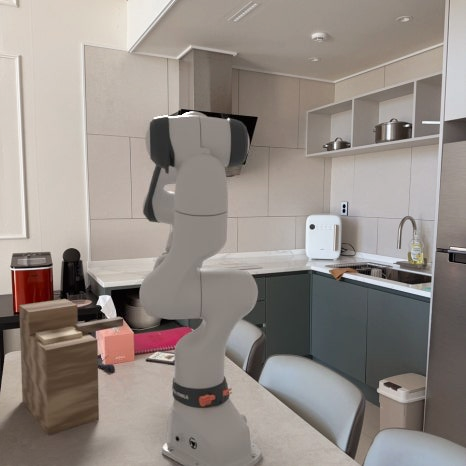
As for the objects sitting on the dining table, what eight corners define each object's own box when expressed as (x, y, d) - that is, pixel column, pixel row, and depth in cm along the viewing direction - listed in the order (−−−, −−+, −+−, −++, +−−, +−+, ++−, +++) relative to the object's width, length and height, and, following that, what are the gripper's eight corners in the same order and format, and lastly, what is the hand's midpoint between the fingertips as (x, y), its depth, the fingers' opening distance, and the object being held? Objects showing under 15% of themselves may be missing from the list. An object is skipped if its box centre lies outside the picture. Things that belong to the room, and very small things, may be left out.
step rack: (98, 419, 110) (96, 315, 108) (48, 435, 103) (45, 324, 100) (67, 389, 127) (65, 298, 125) (22, 401, 120) (19, 305, 117)
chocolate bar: (195, 366, 143) (145, 359, 149) (195, 369, 144) (145, 362, 149) (206, 356, 152) (158, 350, 158) (206, 359, 152) (158, 353, 158)
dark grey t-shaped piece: (92, 381, 134) (92, 372, 134) (66, 368, 144) (66, 360, 143) (132, 367, 145) (132, 359, 145) (105, 357, 155) (105, 349, 154)
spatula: (115, 321, 124) (115, 314, 124) (127, 327, 118) (127, 320, 118) (35, 336, 110) (35, 328, 110) (44, 344, 105) (44, 335, 105)
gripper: (152, 250, 142) (142, 291, 136) (194, 235, 128) (184, 280, 122) (168, 258, 146) (158, 298, 139) (210, 244, 132) (201, 288, 126)
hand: (171, 289), depth 131 cm, fingers open, 8 cm apart
